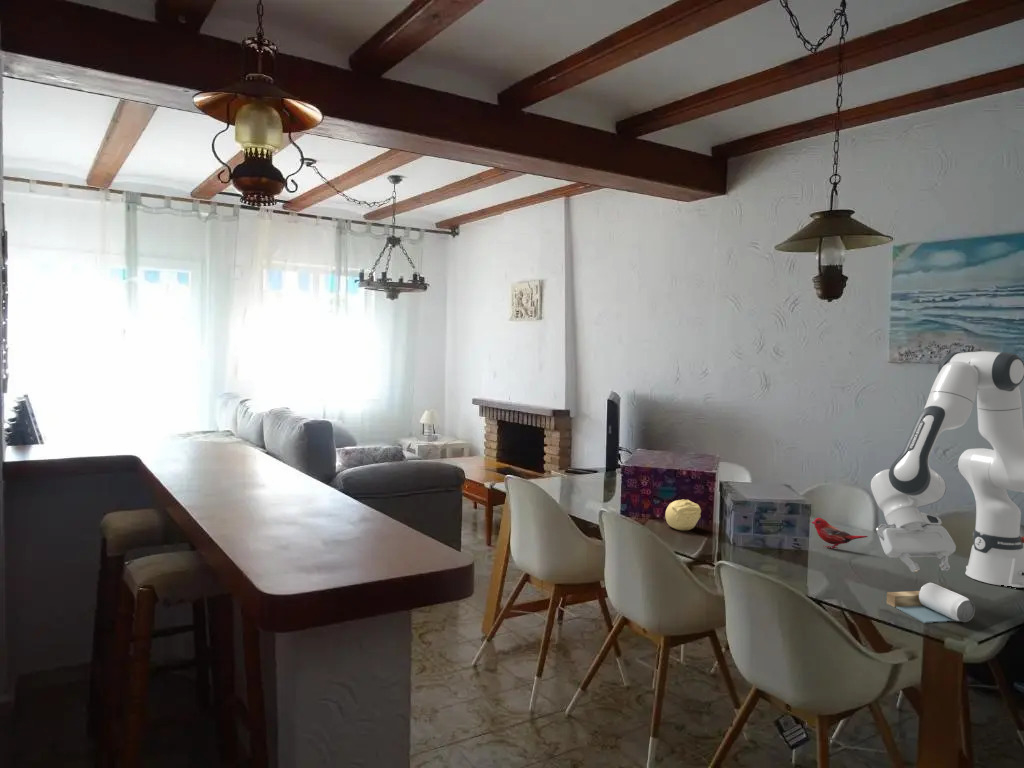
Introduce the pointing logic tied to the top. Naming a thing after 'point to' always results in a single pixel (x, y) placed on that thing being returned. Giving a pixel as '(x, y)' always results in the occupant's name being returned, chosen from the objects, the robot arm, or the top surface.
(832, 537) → the decorative bird figurine
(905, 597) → the oak rail
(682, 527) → the pale yellow round lump
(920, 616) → the felt mat
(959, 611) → the can
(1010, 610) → the top surface
